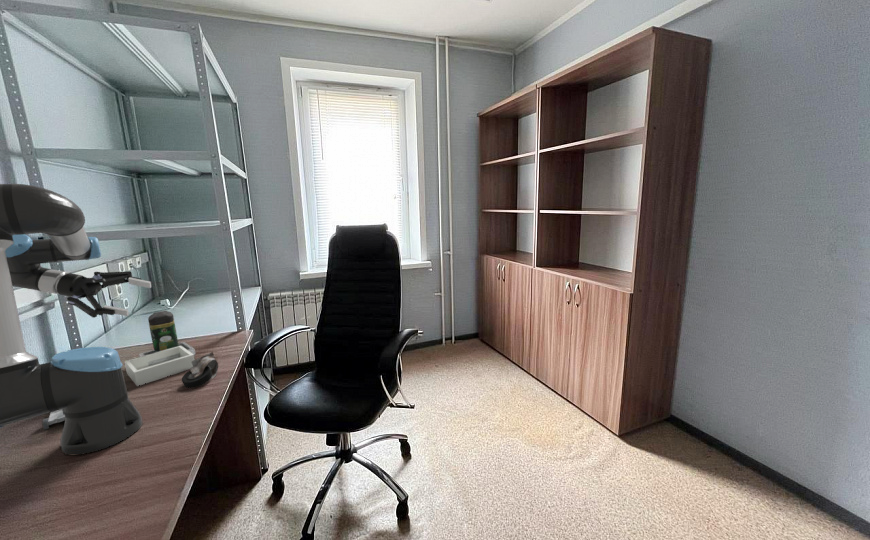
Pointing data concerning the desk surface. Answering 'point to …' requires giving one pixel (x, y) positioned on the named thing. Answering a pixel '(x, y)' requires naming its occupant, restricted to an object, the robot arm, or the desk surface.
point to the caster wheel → (201, 371)
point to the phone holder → (54, 418)
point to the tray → (158, 365)
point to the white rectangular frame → (169, 356)
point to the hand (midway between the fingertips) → (139, 298)
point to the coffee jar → (163, 331)
